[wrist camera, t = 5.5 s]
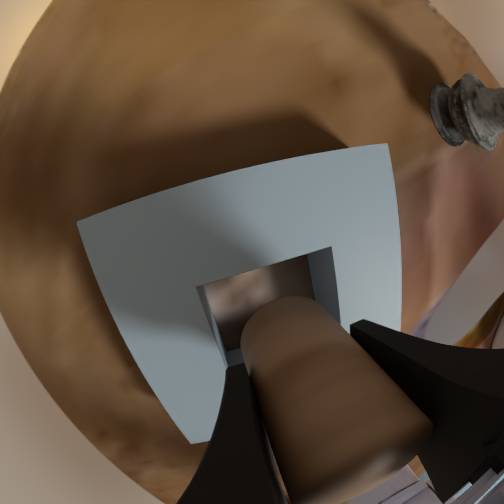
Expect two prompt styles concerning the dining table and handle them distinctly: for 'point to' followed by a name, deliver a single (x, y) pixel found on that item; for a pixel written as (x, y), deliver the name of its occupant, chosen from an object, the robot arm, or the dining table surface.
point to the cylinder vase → (499, 336)
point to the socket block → (243, 262)
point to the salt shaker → (468, 112)
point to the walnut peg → (327, 404)
